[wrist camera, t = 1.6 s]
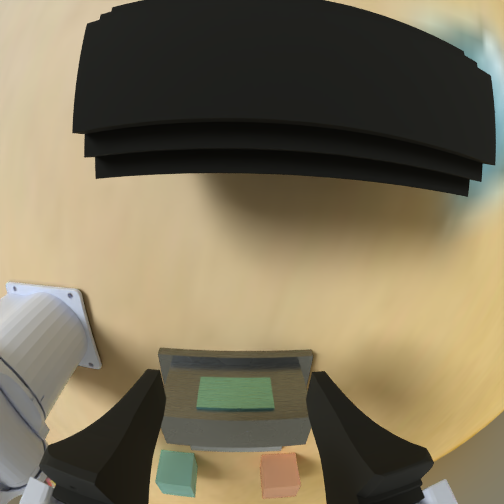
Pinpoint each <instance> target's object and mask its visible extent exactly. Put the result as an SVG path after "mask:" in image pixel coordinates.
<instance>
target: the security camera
mask: <svg viewBox="0 0 504 504" xmlns="http://www.w3.org/2000/svg"><path fill="white" fill-rule="evenodd" d="M72 133H78V134H85V146H84V157H95V171H96V179H99V178H110V177H122V176H137V175H155V174H181V173H257V174H283V175H302V176H317V177H330V178H341V179H352V180H362V181H371V182H379V183H387V184H395V185H402V186H409V187H416V188H422V189H428V190H434V191H440V192H446V193H451V194H456V195H461V196H466V197H468V191H469V181H470V180H475V181H480V182H481V180H482V164H489V165H495V157H496V129H495V110H494V98H493V89H492V81H491V76H490V75H489V74H487V73H486V72H484V71H483V70H481V69H479V68H478V67H477V62H475V61H473V60H472V59H470V58H468V57H466V56H465V55H464V51H462V50H460V49H458V48H457V47H455V46H453V45H451V44H449V43H447V42H445V41H443V40H441V39H439V38H437V37H435V36H433V35H431V34H429V33H426V32H424V31H422V30H419V29H417V28H415V27H412V26H410V25H407V24H405V23H402V22H400V21H397V20H394V19H391V18H388V17H386V16H383V15H379V14H376V13H373V12H370V11H366V10H363V9H359V8H356V7H352V6H348V5H344V4H339V3H335V2H330V1H325V0H142V1H137V2H133V3H128V4H124V5H120V6H116V7H112V11H111V12H108V13H105V14H101V16H100V20H97V21H94V22H91V23H88V24H87V26H86V30H85V35H84V40H83V44H82V50H81V55H80V61H79V67H78V74H77V82H76V90H75V100H74V113H73V132H72Z"/></svg>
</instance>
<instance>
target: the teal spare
mask: <svg viewBox="0 0 504 504" xmlns="http://www.w3.org/2000/svg"><path fill="white" fill-rule="evenodd" d="M197 468H198V466H197V463H196V459H195V455H194V453H185V452H175V451H167V450H161V454H160V459H159V465H158V470H157V475H156V481H155V482H156V484H157V485H158V487H159V489H160V490H161V492H162V493H164V494H170V495H178V496H187V497H195V492H196V480H197Z"/></svg>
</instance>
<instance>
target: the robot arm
mask: <svg viewBox="0 0 504 504" xmlns="http://www.w3.org/2000/svg"><path fill="white" fill-rule="evenodd" d="M6 289H7V294H6V295H5V296H4V297H2V298H1V299H0V504H7V503H8V502H9V501H10V500H12V499H13V498H14V497H16V496H19V495H23V496H22V498H21V501H20V503H19V504H148V501H149V484H150V474H151V466H152V458H153V454H154V449H155V446H156V442H157V438H158V435H159V431H160V428H161V424H162V421H163V417H164V411H165V405H166V395H165V390H164V386H163V382H162V378H161V373H160V370H152V369H147V370H146V371H145V373H144V374H143V375H142V376H141V377H140V379H139V380H138V381H137V382H136V383H135V384H134V386H133V387H132V388H131V389H130V390H129V391H128V392H127V393H126V395H125V396H124V397H123V398H122V399H121V400H120V401H119V402H118V403H117V404H116V405H115V406H114V407H113V408H111V409H110V410H109V411H108V412H107V413H106V414H105V415H103V416H102V417H101V418H100V419H98V420H97V421H96V422H94V423H93V424H91V425H90V426H88V427H87V428H85V429H84V430H82V431H80V432H78V433H76V434H74V435H73V436H71V437H68V438H66V439H64V440H61V441H59V442H56V443H54V444H51V445H48V443H47V442H46V440H45V438H46V436H47V434H48V432H49V430H50V429H49V428H48V427H47V425H46V424H45V420H46V418H47V416H48V414H49V413H50V411H51V409H52V407H53V406H54V404H55V402H56V401H57V399H58V397H59V395H60V394H61V392H62V390H63V389H64V387H65V385H66V384H67V382H68V381H69V379H70V377H71V376H72V374H73V373H74V371H75V369H76V368H77V366H83V367H88V368H93V369H100V368H101V366H102V364H101V361H100V358H99V355H98V352H97V348H96V345H95V342H94V339H93V335H92V332H91V328H90V325H89V321H88V317H87V314H86V310H85V306H84V301H83V297H82V294H81V292H80V291H79V290H78V289H74V288H63V287H53V286H44V285H34V284H26V283H18V282H10V281H9V282H7V283H6ZM70 293H71V294H72V296H71V295H70ZM306 405H307V411H308V417H309V421H310V424H311V427H312V431H313V434H314V437H315V440H316V444H317V447H318V450H319V454H320V458H321V464H322V470H323V476H324V483H325V492H326V501H327V504H458V503H457V501H456V499H455V496H454V494H453V492H452V490H451V488H450V486H449V484H448V482H447V480H446V479H443V480H441V481H439V482H437V483H435V484H433V485H431V486H429V487H427V488H425V489H424V490H421V488H420V486H421V485H422V481H421V478H422V477H423V476H424V475H425V474H426V473H427V472H428V471H429V470H430V469H431V468H432V466H433V464H434V462H433V460H432V458H431V456H430V454H429V452H428V450H427V449H426V448H424V447H421V446H418V445H416V444H413V443H410V442H408V441H406V440H404V439H402V438H400V437H398V436H396V435H394V434H392V433H391V432H389V431H387V430H386V429H384V428H382V427H381V426H379V425H378V424H376V423H375V422H374V421H372V420H371V419H370V418H369V417H367V416H366V415H365V414H364V413H363V412H362V411H360V410H359V409H358V408H357V407H356V406H355V405H354V404H353V403H352V402H351V401H350V400H349V399H348V398H347V397H346V396H345V395H344V393H343V392H342V391H341V390H340V389H339V388H338V387H337V385H336V384H335V383H334V382H333V381H332V380H331V378H330V377H329V376H328V375H327V373H326V372H325V371H321V372H312V375H311V380H310V384H309V388H308V393H307V397H306ZM47 476H48V477H49V478H50V479H51V480H52V481H53V482H54V483H55V484H56V485H55V488H53V487H51V486H49V485H48V484H46V483H44V481H45V479H46V477H47Z"/></svg>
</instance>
